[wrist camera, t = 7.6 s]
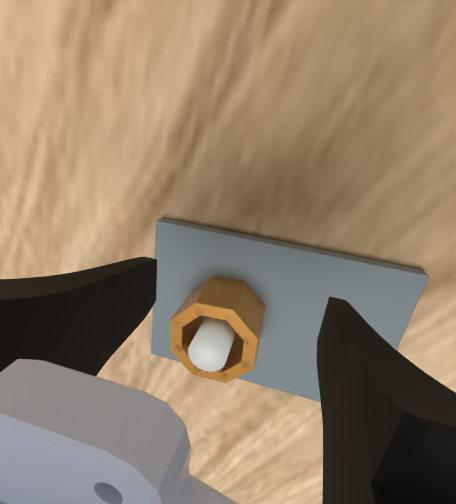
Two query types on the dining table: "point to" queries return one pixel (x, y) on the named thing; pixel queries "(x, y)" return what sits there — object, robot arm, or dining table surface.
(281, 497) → the dining table surface
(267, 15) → the dining table surface
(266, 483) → the dining table surface
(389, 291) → the stand
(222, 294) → the collar ring
